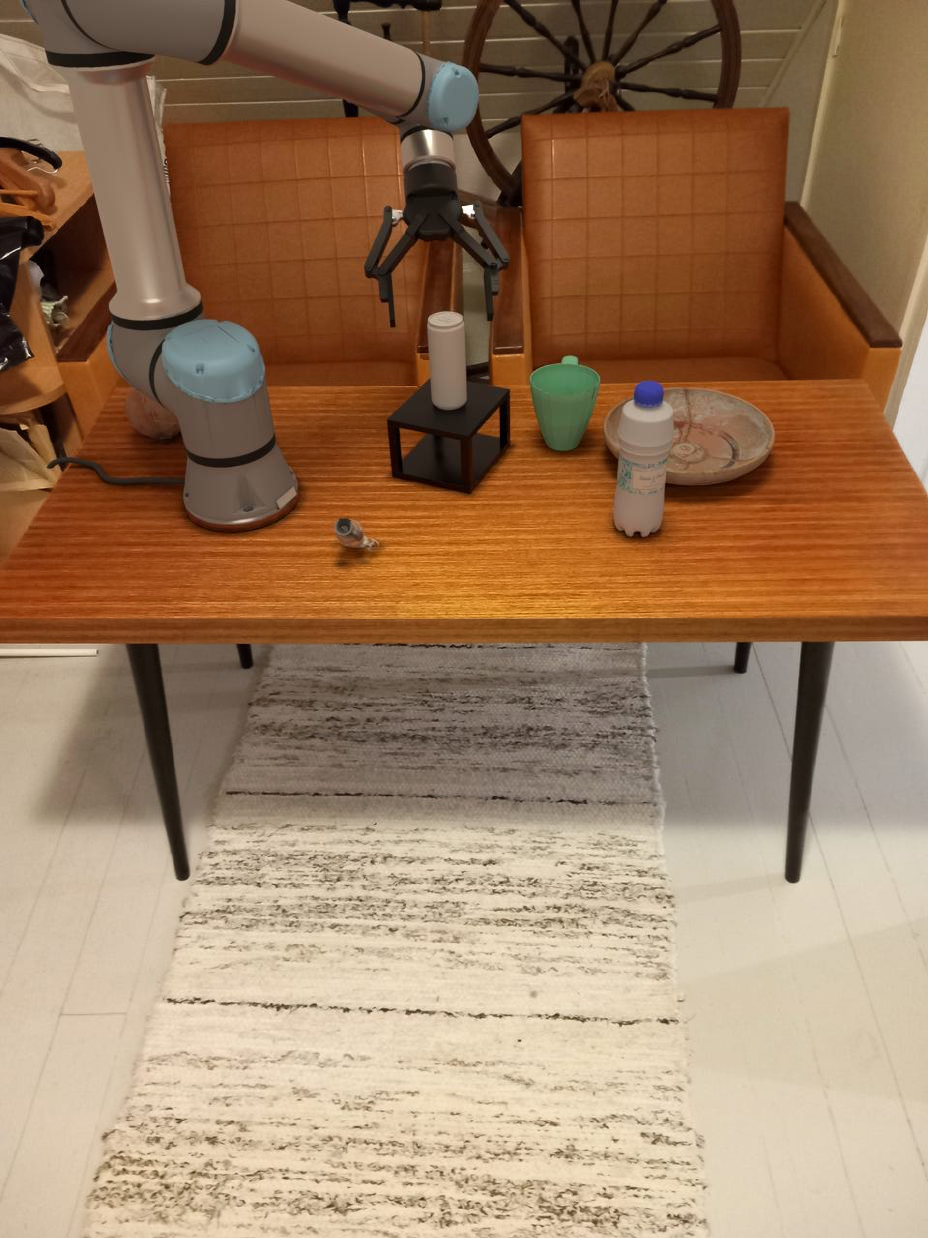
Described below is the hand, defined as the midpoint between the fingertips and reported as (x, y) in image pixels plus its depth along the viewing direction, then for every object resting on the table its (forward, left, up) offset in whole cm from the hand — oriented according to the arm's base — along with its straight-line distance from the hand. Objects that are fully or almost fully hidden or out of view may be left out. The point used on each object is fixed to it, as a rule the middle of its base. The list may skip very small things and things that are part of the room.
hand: (441, 320), depth 137 cm
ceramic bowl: (+35, +5, -17) cm, 39 cm away
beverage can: (+5, -8, -8) cm, 12 cm away
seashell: (+3, -33, -17) cm, 37 cm away
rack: (+5, -8, -17) cm, 19 cm away
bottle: (+34, -14, -17) cm, 40 cm away
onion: (-39, -17, -17) cm, 46 cm away
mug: (+17, +5, -17) cm, 24 cm away
